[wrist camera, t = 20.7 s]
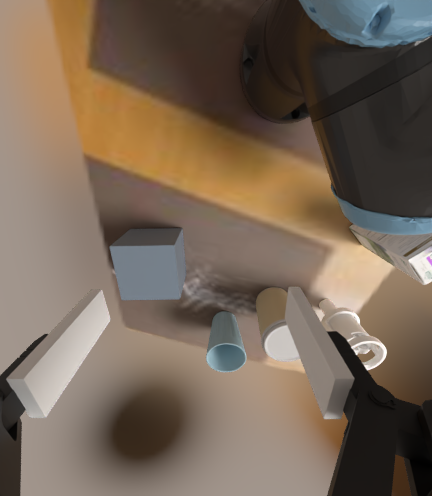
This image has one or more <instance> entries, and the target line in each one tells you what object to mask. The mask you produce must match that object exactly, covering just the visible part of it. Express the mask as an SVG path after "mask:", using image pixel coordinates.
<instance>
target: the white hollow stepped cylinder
mask: <svg viewBox="0 0 432 496" xmlns="http://www.w3.org/2000/svg"><path fill="white" fill-rule="evenodd" d="M319 307H320V309H321V310H322V312H323V313H324V315H325V316H324V317H323V319H322V321H321V323H322V325H323V327H324V328H325V330H326V331H337V332H338V333H340V334H341V335H342V336H343V337H344V338H346V340H347V341H348V343H349V344H350V346H351V348H352V349H353V350H354V352H355V353H356V356H357V354H358V353H362V354H363V353H364V354H366V353H367V352H369V351H370V350H372V351H373V352H374V353H375V355H376V356H375V357H374V358H372V359H371V360H369V361H367V362H364V363H363V365H364V366H365V368H366V369H367V371H368V370H370V369H372V368H374V367H376V366H378V365H379V364H380V363H382V362H383V360H384V359H385V357H386V354H387V351H386V348H385V346H384V345H383V344H382V343H381V342H380V341H379V340H378V339H377V338H375V337H372V336H369V335H368V334H367V333H366V331H365V330H364V329H363V328H362V327H361V326H360V319H359V317H358V316H357V315H356V314H355V312H354V311H352V310H351V309H348V308H337V307H336V305H335V304H334V303H333V302H332V300H330V299H324V300H322V301H321V302H320V304H319ZM352 315H353V316H354V317H353V316H352ZM376 344H377V345H379V348H378V346H377V345H376ZM356 346H358V347H357V348H355V347H356Z"/></svg>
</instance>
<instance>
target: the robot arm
mask: <svg viewBox="0 0 432 496" xmlns="http://www.w3.org/2000/svg"><path fill="white" fill-rule="evenodd" d="M240 77H241V83H242V87H243V90H244V93H245V96H246V98H247V100H248V101H249V103H250V105H251V106H252V107H253V109H254V110H255V111H256V112H257V113H258V114H259V115H261V116H262V117H264V118H265V119H267V120H269V121H272V122H275V123H282V124H288V123H294V122H298V121H301V120H303V119H306V118H308V117H311V120H312V125H313V128H314V131H315V134H316V137H317V140H318V143H319V146H320V150H321V153H322V156H323V159H324V162H325V165H326V168H327V171H328V174H329V177H330V180H331V189H332V192H333V194H334V196H335V197H336V198H337V200H338V202H339V205H340V208H341V210H342V212H343V214H344V216H345V217H346V218H348V220H349V221H350V222H352V223H353V224H354V225H356V226H358V227H360V228H363V229H365V230H368V231H372V232H376V233H382V234H391V235H419V234H429V233H432V0H266V2H265V3H264V4H263V5H262V6H261V7H260V9H259V10H258V11H257V13H256V15H255V16H254V18H253V20H252V22H251V23H250V26H249V28H248V30H247V33H246V36H245V39H244V43H243V47H242V52H241V58H240ZM285 320H286V323H287V326H288V328H289V331H290V333H291V336H292V338H293V341H294V343H295V346H296V349H297V351H298V354H299V356H300V359H301V361H302V364H303V367H304V369H305V372H306V374H307V377H308V379H309V382H310V384H311V387H312V390H313V392H314V395H315V397H316V400H317V402H318V405H319V407H320V410H321V413H322V415H323V418H324V419H341V417H342V414H343V411H344V413H345V415H346V417H347V419H348V424H347V426H346V429H345V432H344V438H343V442H342V445H341V449H340V452H339V455H338V459H337V463H336V467H335V470H334V473H333V477H332V480H331V484H330V488H329V491H328V495H327V496H391V494H392V483H393V474H394V473H393V472H394V463H395V454H396V455H399V456H402V457H404V461H405V466H406V471H407V476H408V481H409V485H410V490H411V495H412V496H432V400H426V401H425V402H424V403H423V404H422V406H419V405H416V404H412V403H409V402H405V401H402V400H399V399H397V398H395V397H394V396H393V395H392V394H391V393H390V392H389V391H388V390H386V389H385V388H383V387H382V386H379V385H377V384H376V382H375V381H374V380H373V378H372V377H371V375H370V374H369V372H368V371H367V369H366V368H365V366H364V365H363V363H362V362H361V360H360V359H359V357H358V356H356V353H355V352H354V350H353V349H352V348H351V346H350V344H349V343H348V341H347V340H346V338H344V337H343V336H342V335H341V334H340V333H338V332H337V331H326V330H325V328H324V327H323V325H322V323H321V322H320V320H319V318H318V316H317V315H316V313H315V311H314V310H313V308H312V306H311V305H310V303H309V301H308V300H307V298H306V296H305V295H304V293H303V291H302V290H301V288H300V287H288V295H287V303H286V311H285ZM109 321H110V316H109V313H108V309H107V306H106V302H105V299H104V295H103V292H102V290H100V289H97V290H90V291H89V293H87V295H86V296H85V297H84V298H83V299H82V300H81V301H80V302H79V303H78V304H77V305H76V306H75V307H74V308H73V309H72V310H71V311H70V312H69V314H67V316H66V317H65V318H64V319H63V320H62V321H61V322H60V323H59V324H58V325H57V326H56V327H55V328H54V329H53V330H52V331H51V332H50V333H49V334H44V335H43V336H41V337H40V338H38V339H37V340H36V341H34V342H33V343H32V344H31V345H30V346H29V347H28V348H27V349H26V351H24V352H23V353H22V354H21V355H20V357H19V358H17V359H16V360H15V361H14V362H13V363H12V364H11V365H10V366H9V367H8V369H6V370H5V371H4V372H3V373H2V374H1V376H0V496H20V479H21V431H22V430H21V429H22V426H21V425H22V422H21V419H20V416H21V415H22V414H23V412H24V411H25V410H26V412H27V414H28V415H29V417H30V418H46V417H47V415H48V414H49V412H50V410H51V409H52V407H53V406H54V404H55V403H56V401H57V400H58V398H59V397H60V395H61V394H62V392H63V391H64V389H65V388H66V386H67V385H68V383H69V382H70V380H71V379H72V377H73V376H74V374H75V373H76V371H77V370H78V368H79V367H80V365H81V364H82V362H83V361H84V359H85V357H86V356H87V355H88V353H89V352H90V350H91V348H92V347H93V346H94V344H95V343H96V341H97V340H98V338H99V337H100V335H101V334H102V332H103V331H104V329H105V328H106V326H107V325H108V323H109Z"/></svg>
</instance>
